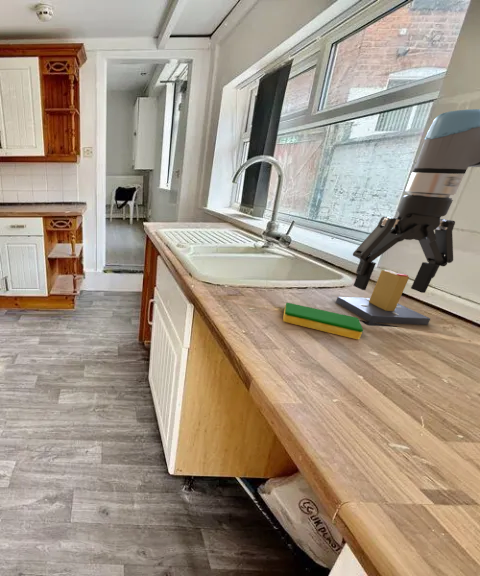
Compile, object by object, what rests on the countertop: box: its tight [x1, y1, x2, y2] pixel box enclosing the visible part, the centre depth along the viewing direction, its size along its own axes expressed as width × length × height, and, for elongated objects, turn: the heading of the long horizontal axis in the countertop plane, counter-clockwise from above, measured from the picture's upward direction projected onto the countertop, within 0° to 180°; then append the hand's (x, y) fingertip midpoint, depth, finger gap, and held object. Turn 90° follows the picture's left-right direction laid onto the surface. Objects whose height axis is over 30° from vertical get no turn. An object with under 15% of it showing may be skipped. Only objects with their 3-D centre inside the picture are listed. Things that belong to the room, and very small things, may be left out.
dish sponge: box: [282, 302, 364, 340], centre depth 68 cm, size 7×14×2 cm, turn 58°
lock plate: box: [335, 296, 431, 328], centre depth 74 cm, size 13×11×3 cm
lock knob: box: [369, 269, 410, 311], centre depth 72 cm, size 5×2×9 cm, turn 178°
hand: (388, 289), depth 72 cm, fingers open, 13 cm apart
